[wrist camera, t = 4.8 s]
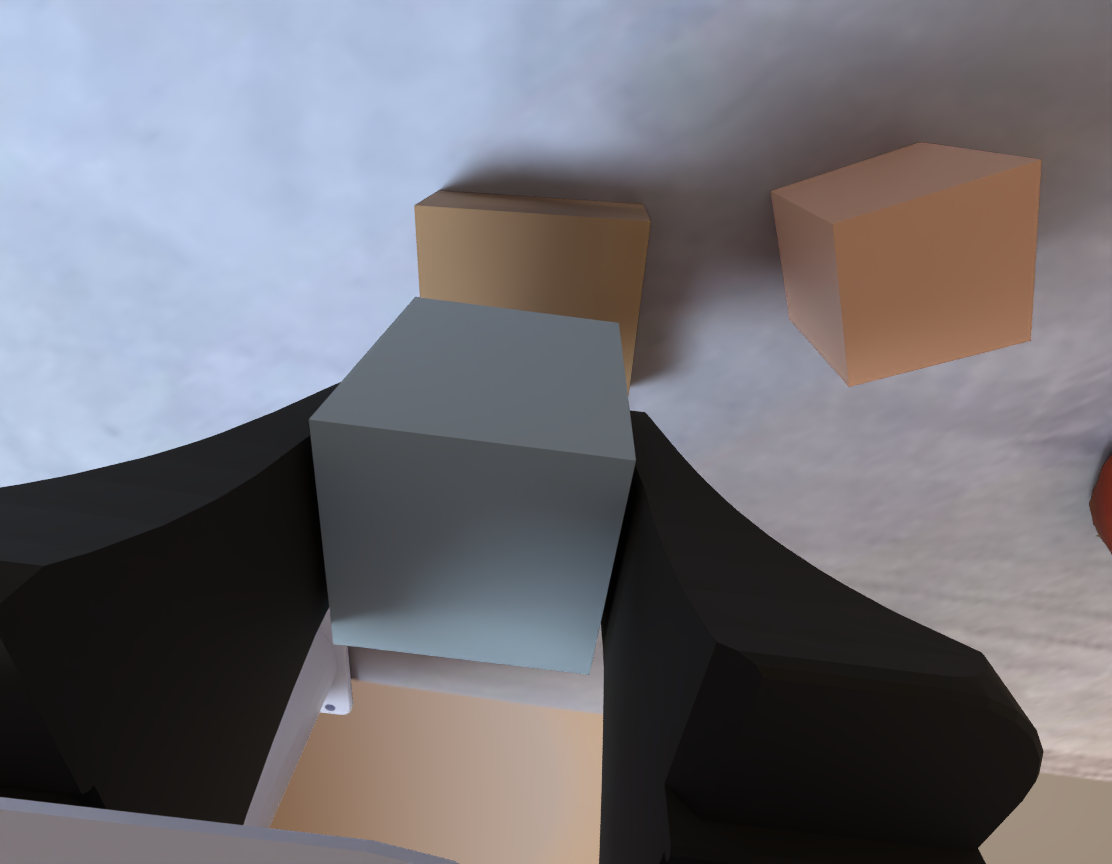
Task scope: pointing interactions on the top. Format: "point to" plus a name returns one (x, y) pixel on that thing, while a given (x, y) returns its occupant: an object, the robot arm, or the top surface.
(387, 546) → the grayish teal block
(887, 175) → the terracotta block
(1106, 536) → the fruit
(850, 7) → the top surface
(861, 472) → the top surface
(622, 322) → the walnut block
